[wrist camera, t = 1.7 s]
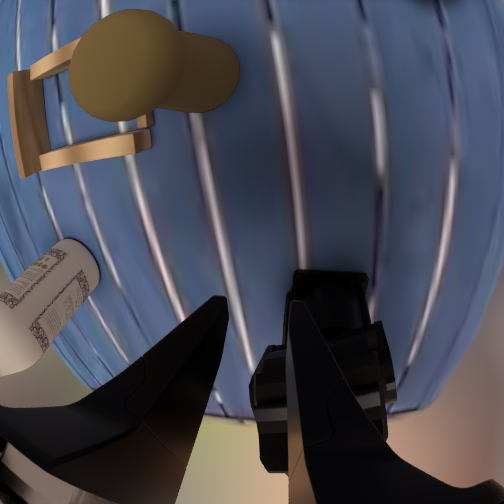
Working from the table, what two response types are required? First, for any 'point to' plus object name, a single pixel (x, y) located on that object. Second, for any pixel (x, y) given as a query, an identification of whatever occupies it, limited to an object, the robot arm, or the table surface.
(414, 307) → the table surface
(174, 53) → the cork
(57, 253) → the bath foam
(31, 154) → the cradle
